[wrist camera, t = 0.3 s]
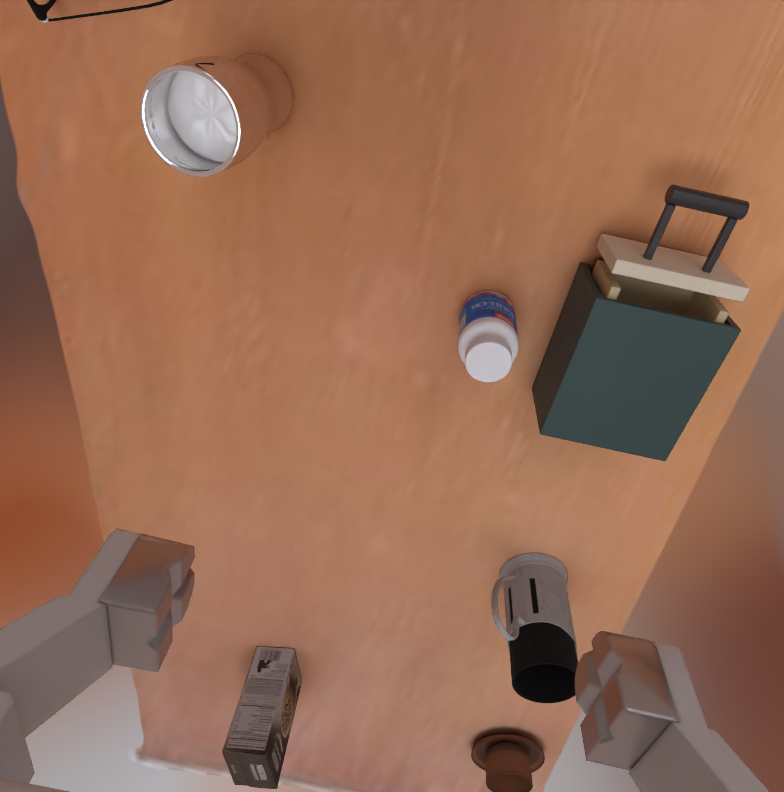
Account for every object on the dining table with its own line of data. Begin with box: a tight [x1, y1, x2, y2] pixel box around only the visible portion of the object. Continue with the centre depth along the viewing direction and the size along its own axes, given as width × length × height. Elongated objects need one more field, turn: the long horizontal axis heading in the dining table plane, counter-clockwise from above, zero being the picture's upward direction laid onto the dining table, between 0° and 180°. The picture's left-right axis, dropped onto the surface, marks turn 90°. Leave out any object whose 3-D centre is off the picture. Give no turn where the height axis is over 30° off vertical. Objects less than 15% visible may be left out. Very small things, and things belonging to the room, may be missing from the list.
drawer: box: [592, 185, 750, 324], centre depth 53 cm, size 19×11×7 cm, turn 169°
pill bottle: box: [458, 291, 519, 382], centre depth 55 cm, size 6×5×10 cm
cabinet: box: [532, 263, 741, 461], centre depth 56 cm, size 14×12×8 cm
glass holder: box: [492, 553, 578, 703], centre depth 71 cm, size 9×14×15 cm, turn 40°
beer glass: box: [140, 54, 293, 177], centre depth 44 cm, size 7×7×15 cm
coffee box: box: [222, 646, 302, 789], centre depth 88 cm, size 9×6×16 cm
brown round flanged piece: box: [471, 734, 545, 792], centre depth 99 cm, size 12×12×6 cm
